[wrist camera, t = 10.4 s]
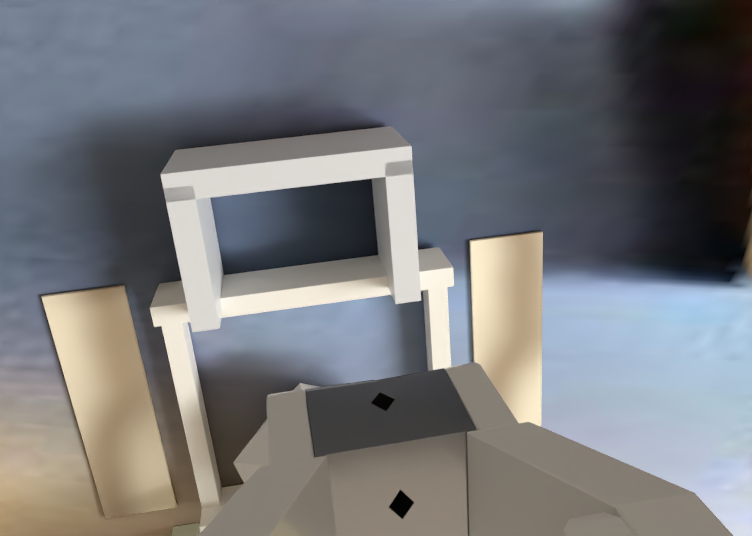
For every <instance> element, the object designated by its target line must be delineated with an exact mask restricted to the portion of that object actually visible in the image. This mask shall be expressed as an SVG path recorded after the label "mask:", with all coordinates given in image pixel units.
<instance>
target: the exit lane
mask: <svg viewBox="0 0 752 536" xmlns="http://www.w3.org/2000/svg"><path fill="white" fill-rule="evenodd" d="M542 262H543V232H542V231H537V232H530V233H522V234H514V235H507V236H499V237H491V238H483V239H476V240H470V269H471V299H472V328H473V358H474V362H476V363H478V364H480V365H481V366H482V368H483V369H484V371H485V372H486V374H487V376H488V377H489V379H490V380H491V382H492V383H493V385H494V386H495V388H496V389H497V391H498V392H499V394H500V395H501V397H502V398H503V400H504V401H505V403H506V404H507V406H508V408H509V409H510V411H511V412H512V414H513V415H514V417H515V418H516V420H517V421H518V423H525V422H531V423H533V424H535V425H538V426H540V427H541V382H542ZM42 301H43V304H44V308H45V311H46V315H47V318H48V322H49V325H50V328H51V332H52V335H53V339H54V342H55V346H56V349H57V353H58V356H59V360H60V363H61V367H62V370H63V373H64V377H65V380H66V384H67V387H68V391H69V394H70V398H71V401H72V405H73V408H74V412H75V415H76V418H77V422H78V425H79V429H80V432H81V436H82V439H83V443H84V446H85V450H86V453H87V457H88V460H89V464H90V467H91V470H92V474H93V477H94V481H95V484H96V488H97V491H98V495H99V498H100V502H101V505H102V509H103V512H104V515H105V519H109V518H116V517H122V516H128V515H134V514H140V513H146V512H152V511H158V510H164V509H170V508H176V507H177V504H176V499H175V495H174V491H173V487H172V482H171V478H170V474H169V470H168V466H167V461H166V457H165V453H164V449H163V445H162V440H161V436H160V432H159V428H158V424H157V419H156V415H155V411H154V407H153V403H152V398H151V394H150V390H149V386H148V382H147V377H146V373H145V369H144V365H143V361H142V356H141V352H140V348H139V344H138V339H137V335H136V331H135V327H134V323H133V318H132V314H131V310H130V306H129V302H128V297H127V293H126V289H125V285H120V286H113V287H105V288H97V289H90V290H82V291H74V292H66V293H59V294H51V295H43V296H42Z"/></svg>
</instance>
